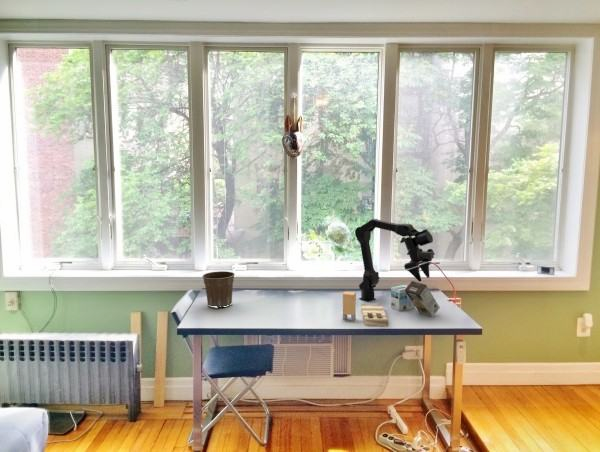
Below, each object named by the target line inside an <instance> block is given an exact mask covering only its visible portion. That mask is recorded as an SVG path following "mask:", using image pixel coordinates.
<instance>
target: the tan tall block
mask: <svg viewBox="0 0 600 452" xmlns="http://www.w3.org/2000/svg"><path fill="white" fill-rule="evenodd" d="M356 298H357V292H353V291H352V292H351V291H344V292H343V293H342V321H346V320H347V319H348V315H350V322H355V320H357V319H356V316H357V313H356V311H357V307H356V305H357V299H356Z"/></svg>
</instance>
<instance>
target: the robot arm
mask: <svg viewBox="0 0 600 452" xmlns="http://www.w3.org/2000/svg"><path fill="white" fill-rule="evenodd" d="M375 229H381V230H385V231H389V232H393V233H395V234H396V235H399V236H401V240H400V244H403V243H404V244H405V247H406V250H407V253H406V255H407V256H409V258H410V260H409V262H407V263H404V265H403V267H404V269H405V270H406V271H407V272H409V273H410V274H411V275H412V276H413V277H414V278H415V279H416V280H417V281H418V283H421V282H422V277H421V274H420V270H421V271H422V273H423V274H424V275H425V277H426V278H427V279H429V278H430V265H431V264H432V261H433V259H434V257H435V254H436V253H435V252H434V250H433V249H432V248H428V249H427V250H423V249H422V248H420V247H423V246H425V245H428V244H431V243H433V242H434V238H433V235H432V234H431V232H430V231H429V230H428V229H427V228H425V229H423V230H422V231H421V230H420V231H419V230H417V229H416V228H414V226H413V224H411V223H395V222H391V221H386V220H381V219H378V218H371V219H369V221H367V222H365V223H364V224H362V225H361V226H358V227H356V228H355V230H354V235H355V237H356V240H357V241H358V243H359V244H360V246H359V247H360V250H361V256H362V257H361V258H362V261H363V268H364V271H363V275H362V282H361V283H360V284H358V287H359V289H360V290H361V292H360V293H361V295H360V297H359V298H358V299H359V300H361V301H365V302H367V303H369V302H371V301H375V300H376V299H377V298H376V297H375V288H376V287H377V285H378V284H379V282H380V275H379V274H380V273H379V271H376V270H375V268H374V263H373V256H372V251H371V244H370V242H371V239H372V232H373V231H375ZM419 246H420V247H419Z"/></svg>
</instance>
